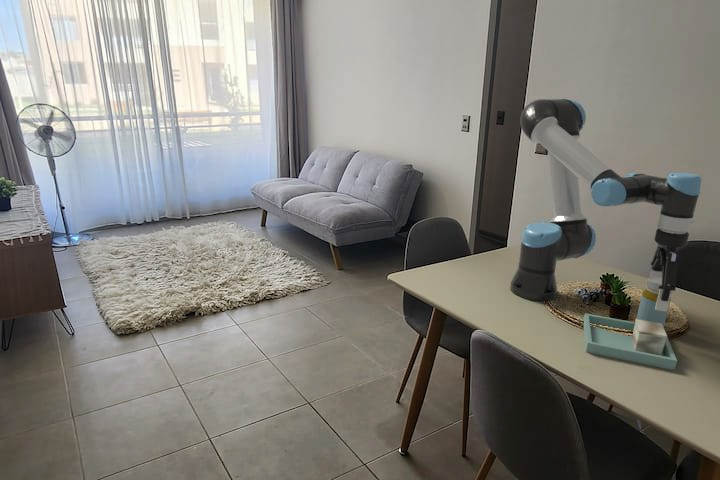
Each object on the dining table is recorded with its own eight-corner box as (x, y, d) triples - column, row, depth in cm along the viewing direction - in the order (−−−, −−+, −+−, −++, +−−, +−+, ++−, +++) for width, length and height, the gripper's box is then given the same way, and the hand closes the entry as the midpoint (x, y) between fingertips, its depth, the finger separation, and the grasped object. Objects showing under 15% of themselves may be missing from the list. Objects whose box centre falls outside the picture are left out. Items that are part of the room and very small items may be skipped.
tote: (585, 354, 122) (587, 342, 121) (582, 323, 137) (584, 313, 136) (673, 373, 115) (677, 360, 113) (660, 338, 130) (663, 327, 129)
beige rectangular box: (634, 351, 122) (639, 331, 120) (630, 338, 128) (635, 318, 126) (661, 357, 120) (667, 336, 118) (656, 343, 126) (661, 323, 124)
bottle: (653, 335, 132) (665, 287, 127) (630, 324, 138) (640, 278, 133) (667, 330, 135) (680, 283, 130) (644, 319, 141) (655, 274, 136)
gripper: (701, 245, 114) (681, 321, 121) (678, 220, 136) (663, 286, 143) (666, 241, 117) (648, 316, 124) (649, 217, 139) (635, 282, 145)
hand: (656, 300), depth 133 cm, fingers open, 13 cm apart
